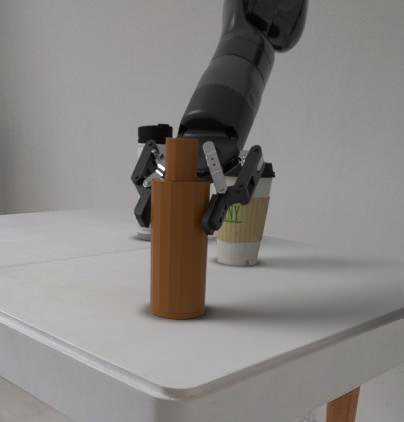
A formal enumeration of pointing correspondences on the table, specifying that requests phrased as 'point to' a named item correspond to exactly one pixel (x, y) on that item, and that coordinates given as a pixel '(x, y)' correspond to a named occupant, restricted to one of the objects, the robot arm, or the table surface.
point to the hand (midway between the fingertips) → (173, 226)
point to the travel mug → (144, 135)
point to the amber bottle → (179, 234)
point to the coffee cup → (244, 222)
